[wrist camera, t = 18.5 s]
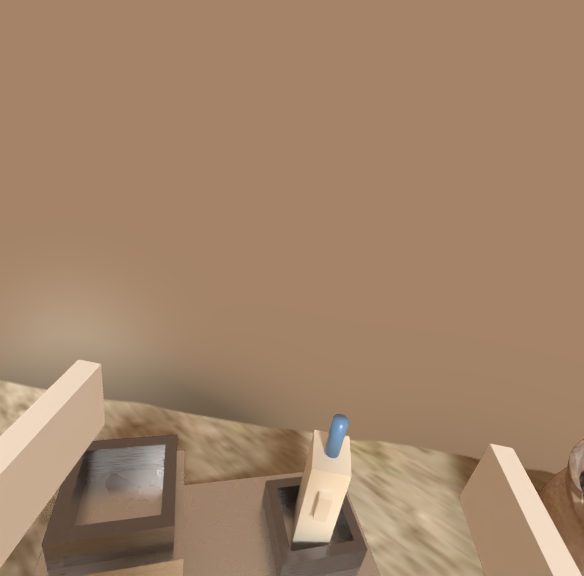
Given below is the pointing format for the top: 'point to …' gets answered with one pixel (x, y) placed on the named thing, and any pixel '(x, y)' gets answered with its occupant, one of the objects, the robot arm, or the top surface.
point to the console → (184, 521)
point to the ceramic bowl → (568, 504)
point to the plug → (322, 486)
